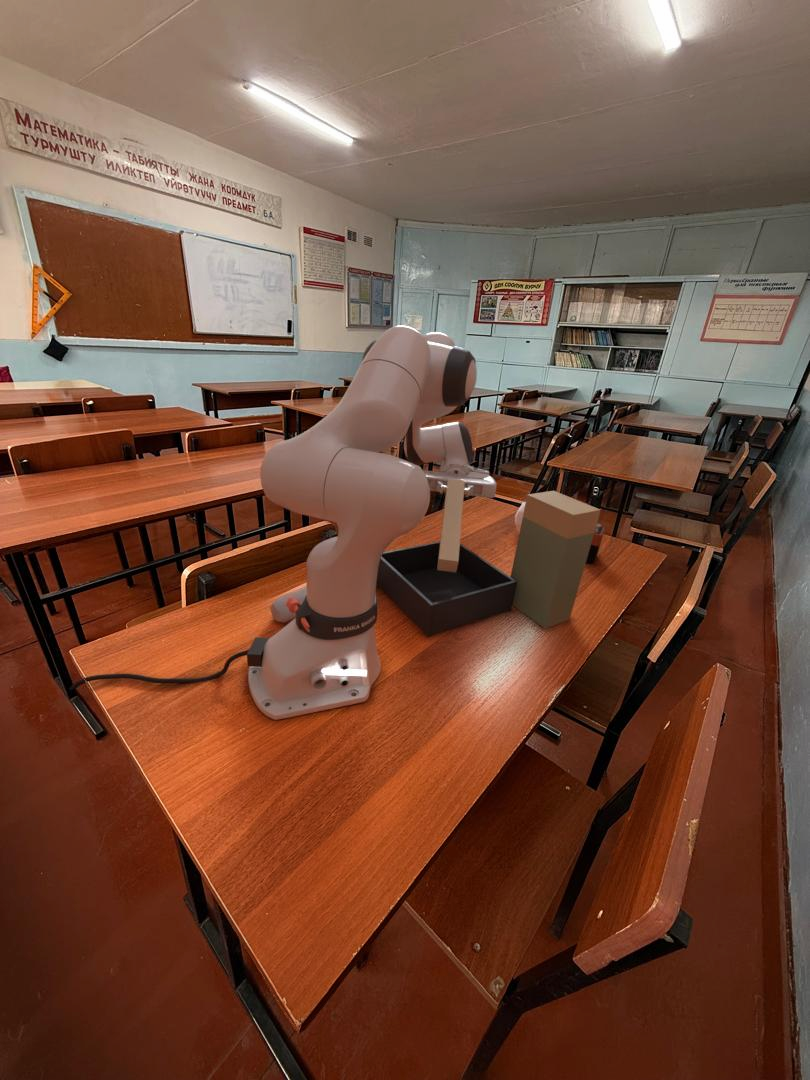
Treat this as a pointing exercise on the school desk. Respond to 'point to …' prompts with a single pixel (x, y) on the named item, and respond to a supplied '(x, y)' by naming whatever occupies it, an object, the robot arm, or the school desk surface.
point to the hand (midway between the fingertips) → (455, 491)
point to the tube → (280, 608)
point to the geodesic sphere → (519, 517)
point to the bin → (444, 588)
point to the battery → (595, 544)
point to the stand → (551, 555)
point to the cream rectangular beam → (451, 526)
